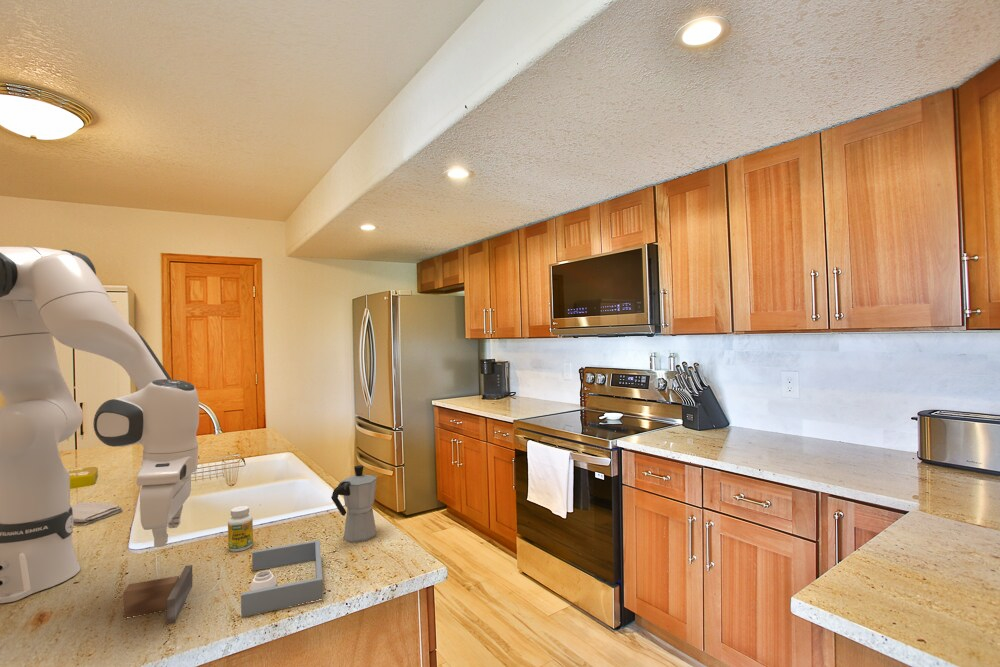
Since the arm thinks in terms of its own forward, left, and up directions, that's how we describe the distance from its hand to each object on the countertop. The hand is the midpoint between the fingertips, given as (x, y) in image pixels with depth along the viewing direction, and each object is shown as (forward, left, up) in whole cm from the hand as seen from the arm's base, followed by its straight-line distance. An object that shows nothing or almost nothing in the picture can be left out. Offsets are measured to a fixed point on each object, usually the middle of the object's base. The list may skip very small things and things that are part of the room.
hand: (167, 535), depth 91 cm
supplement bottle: (+10, +24, -14) cm, 29 cm away
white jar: (+16, 0, -14) cm, 21 cm away
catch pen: (+21, 0, -13) cm, 25 cm away
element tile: (-56, +112, -14) cm, 126 cm away
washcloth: (-37, +68, -14) cm, 78 cm away
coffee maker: (+37, +18, -14) cm, 43 cm away
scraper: (-2, 0, -13) cm, 14 cm away
